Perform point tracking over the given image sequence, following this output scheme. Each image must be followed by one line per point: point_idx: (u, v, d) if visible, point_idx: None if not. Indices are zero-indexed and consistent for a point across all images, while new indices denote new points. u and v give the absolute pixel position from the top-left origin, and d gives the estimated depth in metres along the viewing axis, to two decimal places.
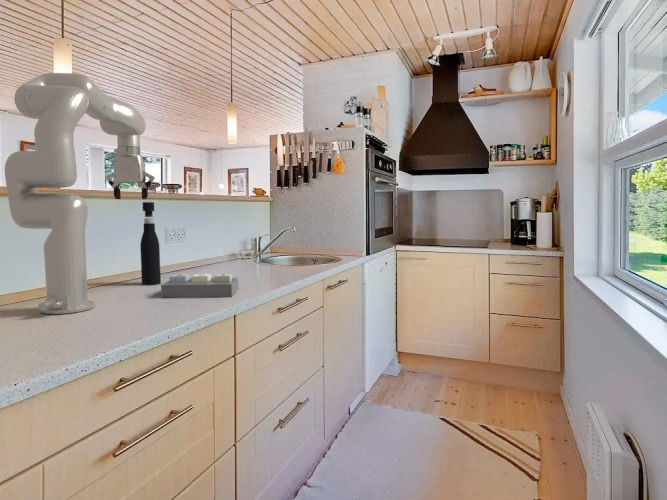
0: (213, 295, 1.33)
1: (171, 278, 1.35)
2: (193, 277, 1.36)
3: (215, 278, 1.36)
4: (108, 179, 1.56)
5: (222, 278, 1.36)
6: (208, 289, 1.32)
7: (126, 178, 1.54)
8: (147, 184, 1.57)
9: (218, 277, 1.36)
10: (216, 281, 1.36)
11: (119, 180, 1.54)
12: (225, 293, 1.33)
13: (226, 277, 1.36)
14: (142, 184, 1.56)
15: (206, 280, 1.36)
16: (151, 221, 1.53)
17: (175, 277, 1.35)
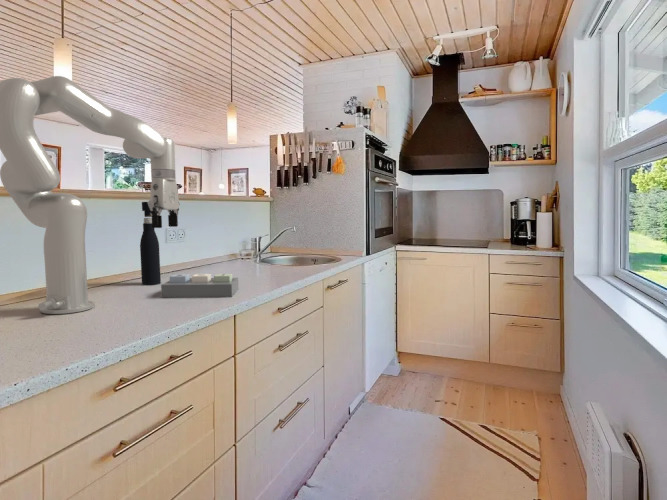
0: (213, 295, 1.33)
1: (171, 278, 1.35)
2: (193, 277, 1.36)
3: (215, 278, 1.36)
4: (152, 205, 1.34)
5: (222, 278, 1.36)
6: (208, 289, 1.32)
7: (171, 205, 1.41)
8: (177, 211, 1.48)
9: (218, 277, 1.36)
10: (216, 281, 1.36)
11: (167, 207, 1.39)
12: (225, 293, 1.33)
13: (226, 277, 1.36)
14: (176, 211, 1.46)
15: (206, 280, 1.36)
16: (151, 221, 1.53)
17: (175, 277, 1.35)
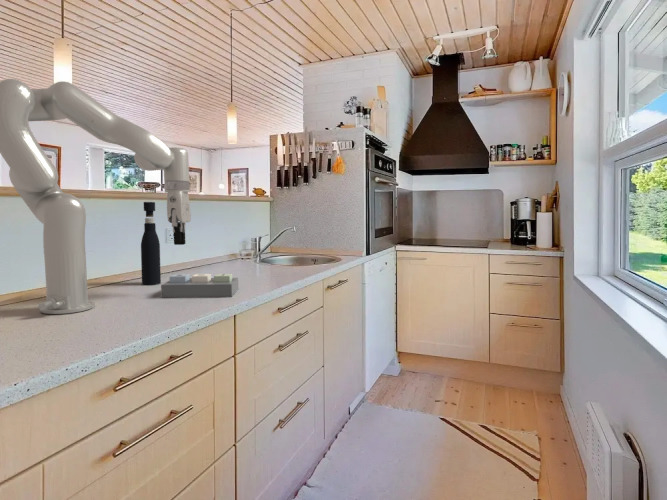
0: (213, 295, 1.33)
1: (171, 278, 1.35)
2: (193, 277, 1.36)
3: (215, 278, 1.36)
4: (177, 225, 1.33)
5: (222, 278, 1.36)
6: (208, 289, 1.32)
7: (187, 217, 1.36)
8: None
9: (218, 277, 1.36)
10: (216, 281, 1.36)
11: (185, 220, 1.34)
12: (225, 293, 1.33)
13: (226, 277, 1.36)
14: (184, 226, 1.38)
15: (206, 280, 1.36)
16: (152, 221, 1.54)
17: (175, 277, 1.35)
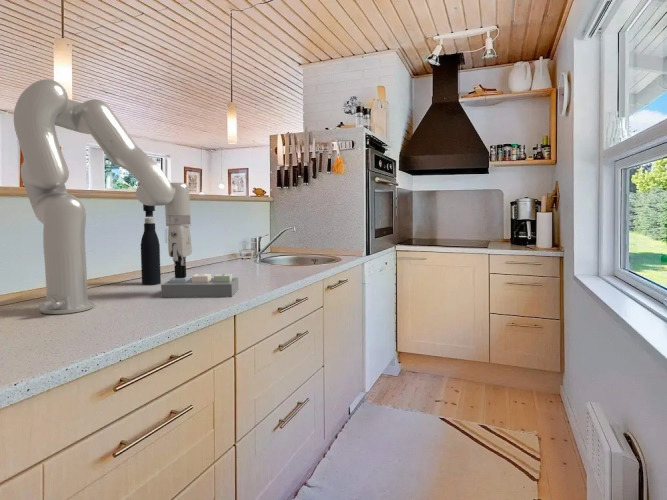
0: (213, 295, 1.33)
1: (171, 281, 1.35)
2: (193, 277, 1.36)
3: (215, 278, 1.36)
4: (178, 259, 1.34)
5: (222, 278, 1.36)
6: (208, 289, 1.32)
7: (188, 251, 1.37)
8: None
9: (218, 277, 1.36)
10: (216, 281, 1.36)
11: (186, 254, 1.35)
12: (225, 293, 1.33)
13: (226, 277, 1.36)
14: (185, 259, 1.39)
15: (206, 280, 1.36)
16: (151, 221, 1.53)
17: (175, 280, 1.35)
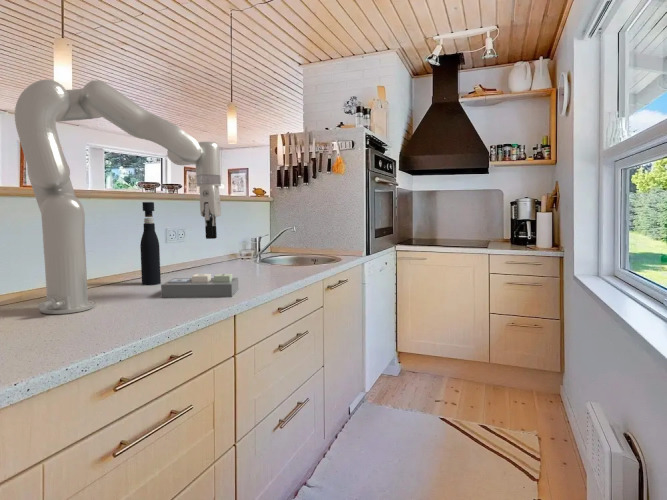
0: (213, 295, 1.33)
1: None
2: (193, 277, 1.36)
3: (215, 278, 1.36)
4: (209, 219, 1.33)
5: (222, 278, 1.36)
6: (208, 289, 1.32)
7: (218, 211, 1.37)
8: (214, 221, 1.39)
9: (218, 277, 1.36)
10: (216, 281, 1.36)
11: (217, 214, 1.34)
12: (225, 293, 1.33)
13: (226, 277, 1.36)
14: (215, 220, 1.39)
15: (206, 280, 1.36)
16: (151, 221, 1.53)
17: (175, 282, 1.36)
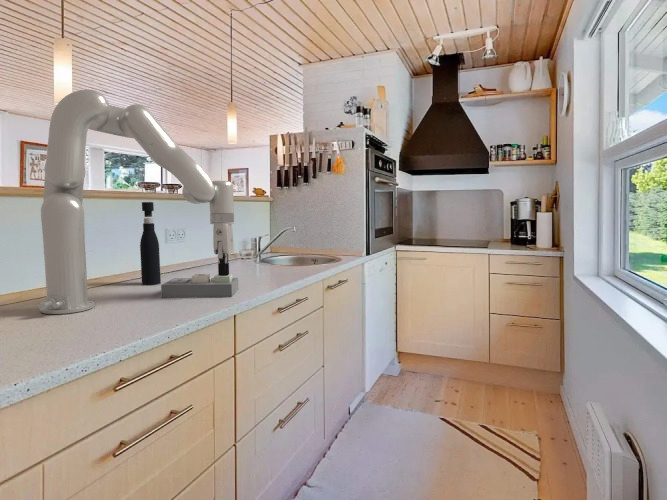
0: (213, 295, 1.33)
1: None
2: (193, 277, 1.36)
3: (215, 279, 1.36)
4: (222, 257, 1.34)
5: (222, 279, 1.36)
6: (208, 289, 1.32)
7: (231, 249, 1.38)
8: (227, 258, 1.40)
9: (218, 277, 1.36)
10: (216, 282, 1.36)
11: (230, 252, 1.36)
12: (225, 293, 1.33)
13: (226, 278, 1.36)
14: (228, 257, 1.40)
15: (206, 280, 1.36)
16: (150, 221, 1.53)
17: (175, 282, 1.36)
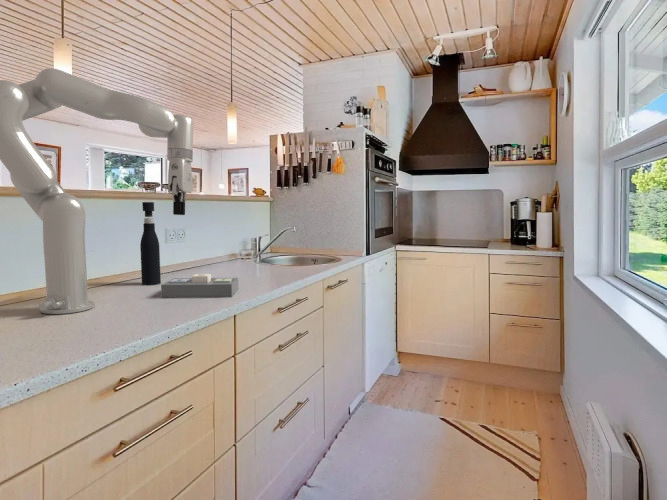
0: (213, 295, 1.33)
1: None
2: (193, 277, 1.36)
3: None
4: (177, 193, 1.30)
5: None
6: (208, 289, 1.32)
7: (188, 187, 1.33)
8: None
9: (218, 282, 1.36)
10: None
11: (185, 189, 1.31)
12: (225, 293, 1.33)
13: None
14: (184, 197, 1.35)
15: (206, 280, 1.36)
16: (151, 221, 1.53)
17: (175, 282, 1.36)
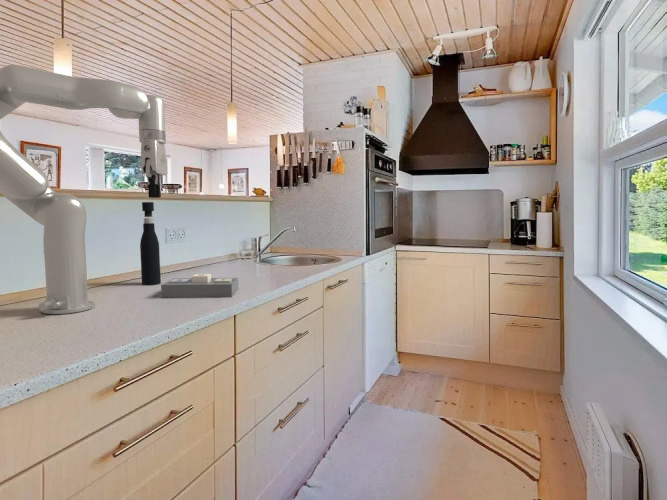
0: (213, 295, 1.33)
1: None
2: (193, 277, 1.36)
3: None
4: (151, 176, 1.28)
5: None
6: (208, 289, 1.32)
7: (162, 169, 1.31)
8: None
9: (218, 282, 1.36)
10: None
11: (159, 171, 1.29)
12: (225, 293, 1.33)
13: None
14: (159, 179, 1.33)
15: (206, 280, 1.36)
16: (151, 221, 1.53)
17: (175, 282, 1.36)
